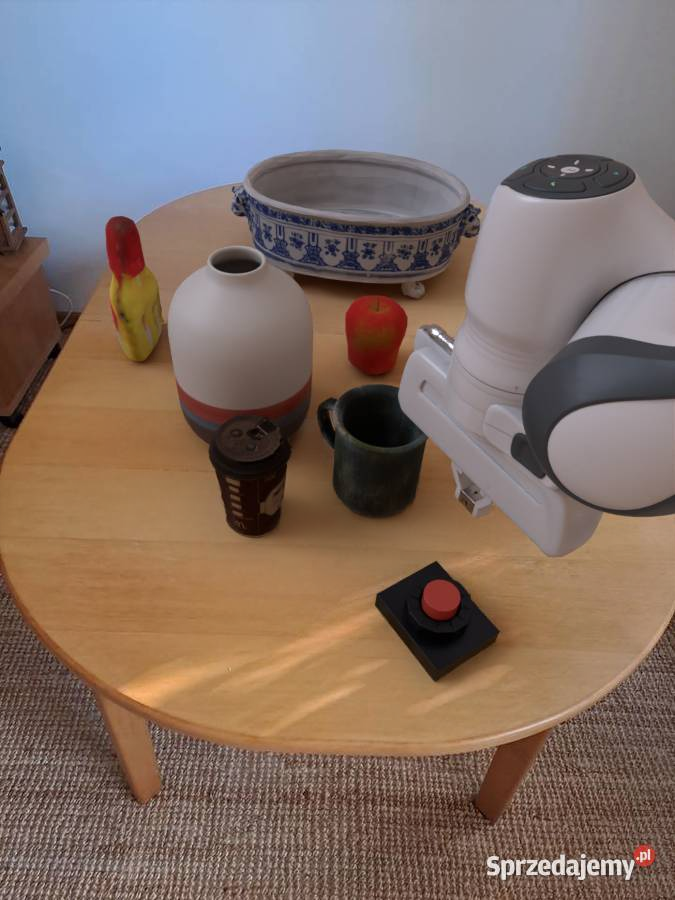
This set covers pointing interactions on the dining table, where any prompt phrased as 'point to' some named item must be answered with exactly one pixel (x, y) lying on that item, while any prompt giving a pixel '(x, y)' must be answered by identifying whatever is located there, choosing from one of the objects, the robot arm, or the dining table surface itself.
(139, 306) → the bottle
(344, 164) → the decorative bowl
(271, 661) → the dining table surface
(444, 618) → the red button
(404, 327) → the apple
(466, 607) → the button box
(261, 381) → the vase
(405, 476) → the mug
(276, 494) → the coffee cup
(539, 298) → the robot arm
